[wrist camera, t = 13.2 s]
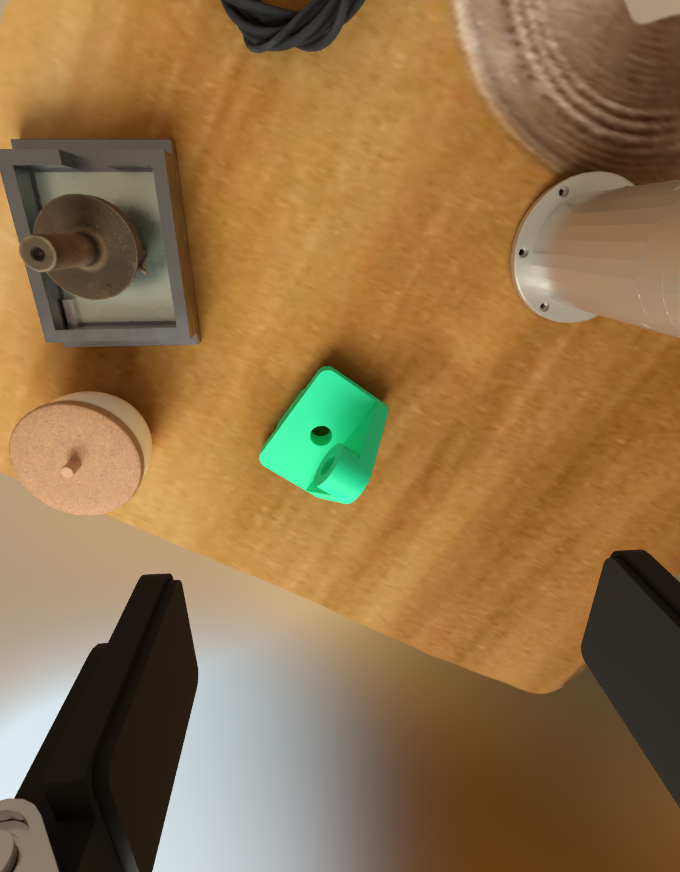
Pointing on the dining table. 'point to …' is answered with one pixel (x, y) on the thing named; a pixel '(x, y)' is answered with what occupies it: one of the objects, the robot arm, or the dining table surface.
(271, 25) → the cable
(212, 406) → the dining table surface
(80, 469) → the lidded jar
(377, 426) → the camera mount
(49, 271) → the industrial component
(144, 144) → the pocket plate
